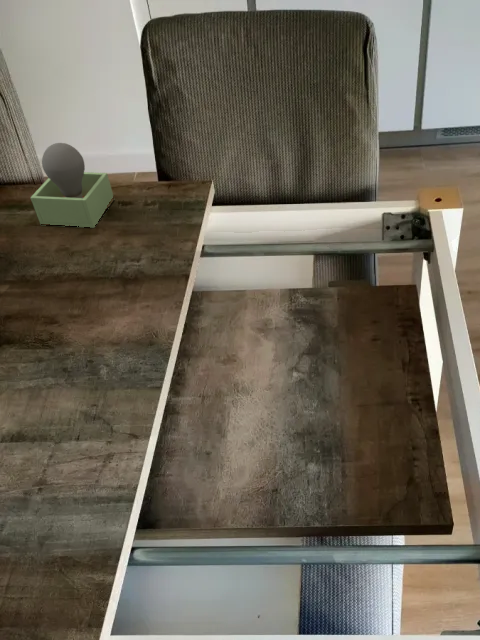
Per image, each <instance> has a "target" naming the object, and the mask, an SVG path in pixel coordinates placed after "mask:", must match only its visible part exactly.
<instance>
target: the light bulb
mask: <svg viewBox="0 0 480 640" xmlns="http://www.w3.org/2000/svg"><path fill="white" fill-rule="evenodd" d="M85 165H86V164H85V160H84V157H83V155H82V154H81V153H80V152H79V150H78V149H76V148H75V147H74V146H72V145H71V144H68V143H66V142H56V143H53V144H51V145H49V146H48V147H46V149H45V150H44V152H43V154H42V158H41V166H42V167H41V168H42V170H43V172H44V173H45V175H46V176H47V179H48V178H49V179H50V180H51V181H52V182H54V183H55V184H56V185H57V186H58V187H59V189H60V191H61V193H62V194H63V195H64V196H65V197H67V198H83V197H82V178H83V175H84V172H85V169H86V168H85Z"/></svg>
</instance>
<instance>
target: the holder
mask: <svg viewBox="0 0 480 640" xmlns="http://www.w3.org/2000/svg"><path fill="white" fill-rule="evenodd" d="M113 196H114V193H113V189H112V185H111V182H110V178H109V175H108V173H107V172H94V171H93V172H92V171H91V172H90V171H84V175H83V178H82V197H83V198H67V197H65V196H64V195H63V194H62V193H61V191H60V189H59V187H58V186H57V185H56V184H55V183H54V182H52V181H51V180H50V179H49V178H48V177H47V179H46V180H45V181H44V182H43V183H42V184H41V185H40V187H39V188H38V189H37V190H36V191H35V192H34V193H33V194H32V195H31V196H30V200H31V204H32V206H33V209H34V211H35V214H36V216H37V220H38V221H39V224H40V225H41V224H50V225H65V226H69V225H70V226H77V227H76V228H84V227H90V228H89V229H95V228H96V226H97V225H98V224H99V222H100V221H99V219H100V218H101V216H102V214H103V213H104V211H105V209H106V208H107V205H108V204H109V202H110V201H111V199H112V198H113ZM101 219H102V218H101ZM101 219H100V220H101ZM98 221H99V222H98ZM96 224H97V225H96ZM95 225H96V226H95ZM65 226H64V227H65ZM78 226H79V227H78Z"/></svg>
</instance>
